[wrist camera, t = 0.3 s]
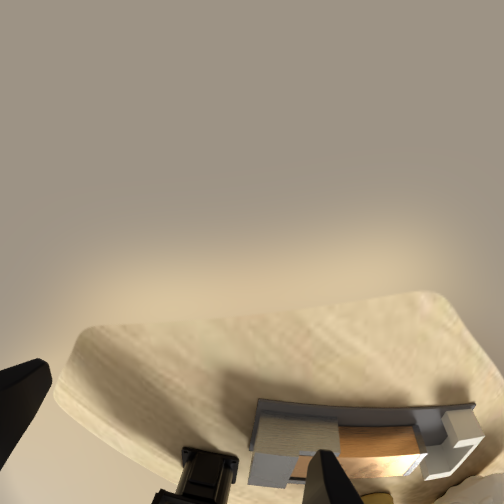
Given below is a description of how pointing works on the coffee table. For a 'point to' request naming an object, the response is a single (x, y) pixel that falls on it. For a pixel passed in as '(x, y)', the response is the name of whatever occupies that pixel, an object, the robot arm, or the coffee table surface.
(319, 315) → the coffee table surface
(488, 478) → the camera
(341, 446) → the tan wooden block
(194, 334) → the coffee table surface
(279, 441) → the sleeve
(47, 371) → the robot arm
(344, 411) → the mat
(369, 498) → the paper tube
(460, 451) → the socket
